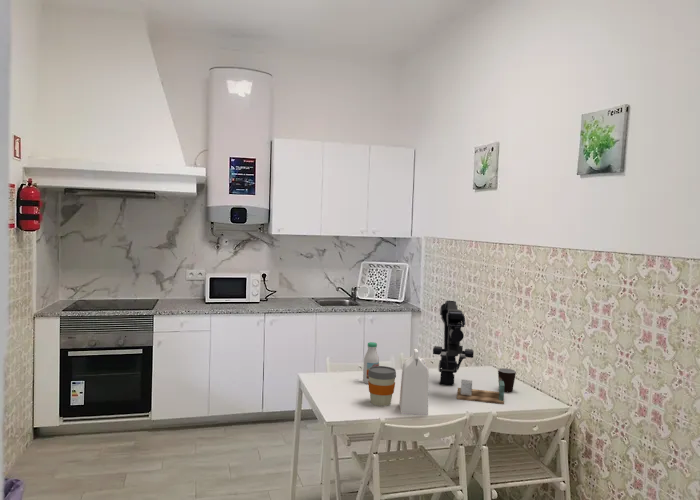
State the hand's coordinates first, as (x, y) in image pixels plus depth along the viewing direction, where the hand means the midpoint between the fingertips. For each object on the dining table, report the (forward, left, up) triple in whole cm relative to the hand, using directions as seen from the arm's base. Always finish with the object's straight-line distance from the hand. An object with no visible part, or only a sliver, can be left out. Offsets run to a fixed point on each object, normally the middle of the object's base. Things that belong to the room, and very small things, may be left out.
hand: (452, 369), depth 267 cm
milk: (-15, -27, -12) cm, 33 cm away
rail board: (+14, 0, -12) cm, 18 cm away
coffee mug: (+26, +18, -12) cm, 34 cm away
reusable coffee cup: (-30, -23, -12) cm, 40 cm away
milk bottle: (-40, +6, -12) cm, 42 cm away
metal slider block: (+7, 0, -11) cm, 13 cm away
